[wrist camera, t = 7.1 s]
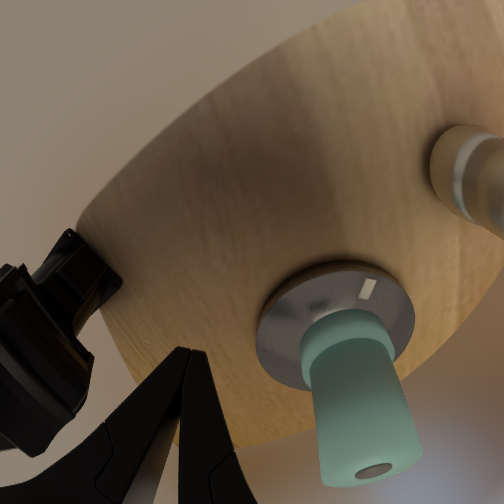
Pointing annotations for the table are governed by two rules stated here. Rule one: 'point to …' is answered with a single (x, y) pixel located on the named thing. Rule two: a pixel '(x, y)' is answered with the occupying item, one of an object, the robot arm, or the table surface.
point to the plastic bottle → (471, 175)
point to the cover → (357, 400)
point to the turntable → (321, 304)
